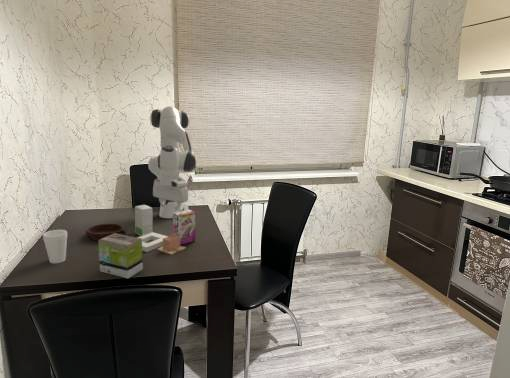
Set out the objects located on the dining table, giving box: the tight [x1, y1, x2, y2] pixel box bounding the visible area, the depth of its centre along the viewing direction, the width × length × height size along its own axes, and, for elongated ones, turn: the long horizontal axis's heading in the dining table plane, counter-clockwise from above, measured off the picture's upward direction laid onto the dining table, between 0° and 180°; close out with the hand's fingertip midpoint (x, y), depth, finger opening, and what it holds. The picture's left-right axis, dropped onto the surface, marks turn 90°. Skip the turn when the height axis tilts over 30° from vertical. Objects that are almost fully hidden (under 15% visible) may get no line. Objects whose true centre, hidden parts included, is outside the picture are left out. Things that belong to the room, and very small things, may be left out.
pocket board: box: [137, 231, 169, 253], centre depth 186 cm, size 17×14×2 cm
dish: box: [84, 223, 127, 241], centre depth 194 cm, size 18×22×5 cm
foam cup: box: [42, 229, 68, 264], centre depth 161 cm, size 10×9×13 cm
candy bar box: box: [172, 209, 197, 246], centre depth 188 cm, size 11×5×16 cm, turn 135°
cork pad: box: [156, 245, 187, 255], centre depth 180 cm, size 10×10×1 cm
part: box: [162, 234, 181, 251], centre depth 179 cm, size 7×4×6 cm, turn 149°
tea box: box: [97, 233, 144, 279], centre depth 153 cm, size 15×10×15 cm, turn 69°
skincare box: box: [134, 204, 153, 237], centre depth 199 cm, size 8×7×16 cm
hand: (170, 208), depth 176 cm, fingers open, 8 cm apart
